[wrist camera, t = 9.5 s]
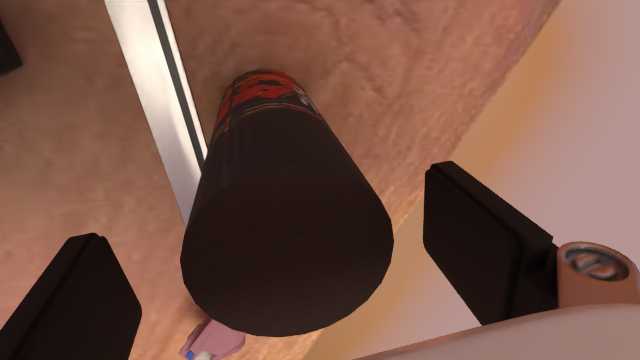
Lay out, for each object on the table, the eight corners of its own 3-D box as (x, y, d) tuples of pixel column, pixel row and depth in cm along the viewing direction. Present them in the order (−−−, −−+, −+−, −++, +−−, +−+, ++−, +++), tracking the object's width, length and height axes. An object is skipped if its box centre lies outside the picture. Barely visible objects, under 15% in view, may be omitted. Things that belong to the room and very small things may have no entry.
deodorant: (324, 90, 23) (431, 202, 10) (290, 168, 25) (339, 348, 12) (237, 52, 21) (221, 128, 8) (208, 140, 23) (154, 320, 10)
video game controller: (266, 231, 29) (230, 266, 22) (309, 266, 28) (285, 313, 22) (204, 310, 31) (154, 364, 24) (243, 343, 31) (203, 406, 24)
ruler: (59, -126, 16) (57, -128, 16) (126, -131, 16) (124, -133, 16) (194, 247, 26) (193, 249, 26) (233, 238, 27) (233, 240, 26)
